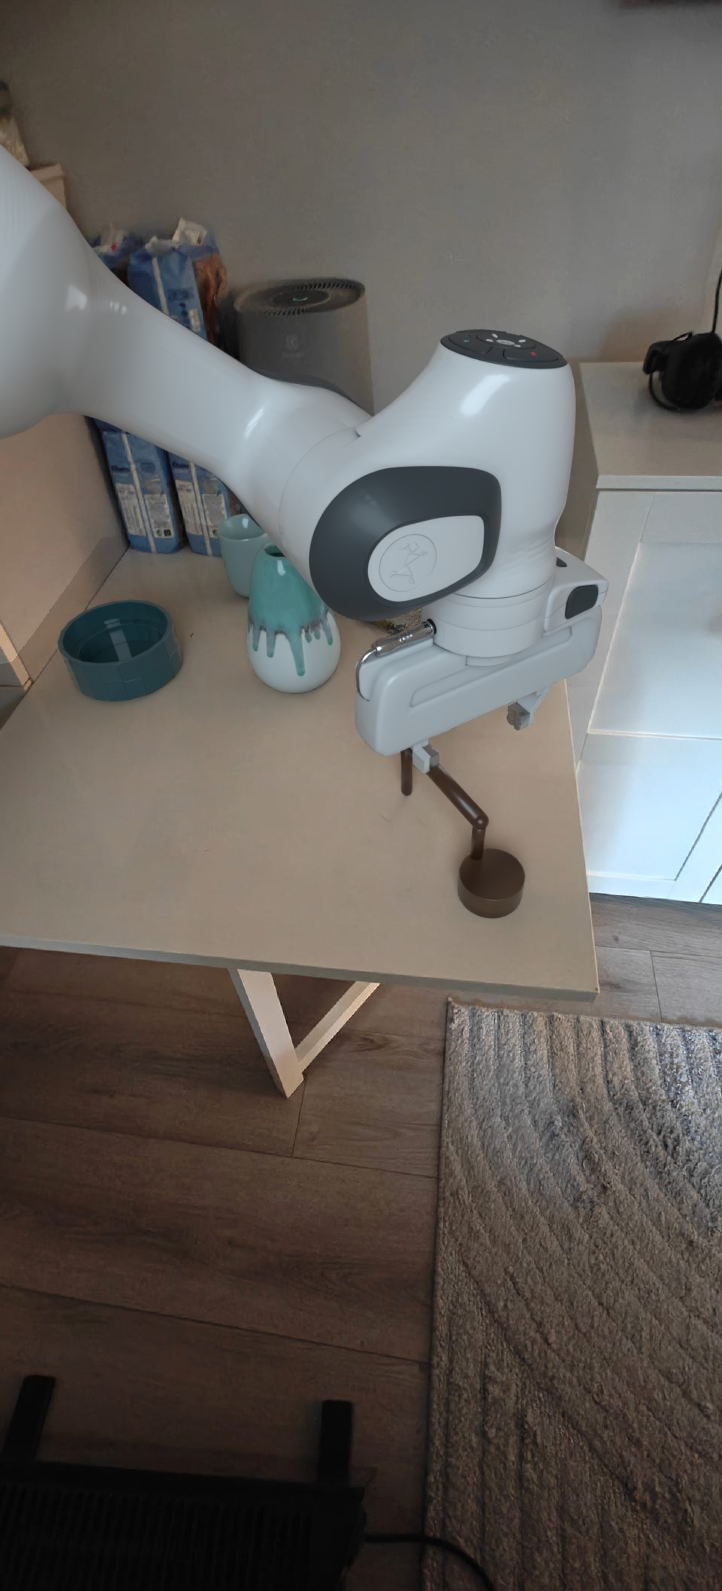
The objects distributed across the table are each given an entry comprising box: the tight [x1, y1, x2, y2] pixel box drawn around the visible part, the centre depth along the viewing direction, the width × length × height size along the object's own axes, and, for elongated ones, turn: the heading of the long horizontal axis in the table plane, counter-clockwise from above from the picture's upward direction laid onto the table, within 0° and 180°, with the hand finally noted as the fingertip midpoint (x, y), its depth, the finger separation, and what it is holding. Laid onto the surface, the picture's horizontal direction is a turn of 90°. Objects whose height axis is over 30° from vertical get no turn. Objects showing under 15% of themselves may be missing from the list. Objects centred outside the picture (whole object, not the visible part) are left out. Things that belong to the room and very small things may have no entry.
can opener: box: [371, 620, 407, 635], centre depth 99 cm, size 9×2×1 cm, turn 44°
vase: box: [245, 542, 342, 694], centre depth 87 cm, size 12×12×18 cm
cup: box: [216, 513, 273, 599], centre depth 104 cm, size 8×8×10 cm
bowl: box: [57, 598, 183, 702], centre depth 94 cm, size 14×14×6 cm
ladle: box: [400, 747, 526, 919], centre depth 70 cm, size 19×6×9 cm, turn 29°
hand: (473, 744), depth 61 cm, fingers open, 8 cm apart
